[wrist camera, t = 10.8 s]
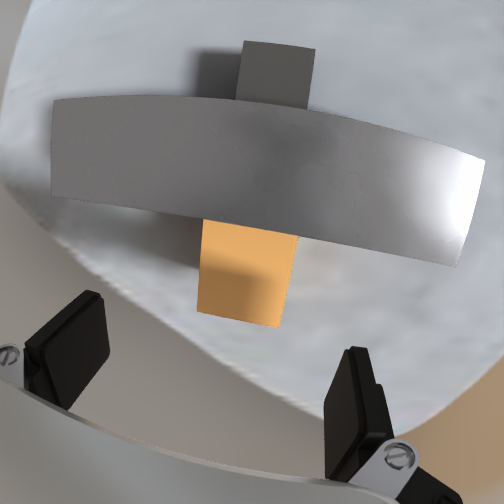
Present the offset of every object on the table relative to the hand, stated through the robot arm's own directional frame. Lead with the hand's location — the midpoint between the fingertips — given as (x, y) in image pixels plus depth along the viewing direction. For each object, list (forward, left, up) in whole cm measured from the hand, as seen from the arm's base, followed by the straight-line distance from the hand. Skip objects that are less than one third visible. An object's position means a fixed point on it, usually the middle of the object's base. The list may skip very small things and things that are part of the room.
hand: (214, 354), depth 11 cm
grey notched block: (-7, 0, -8) cm, 10 cm away
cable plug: (-5, 0, -8) cm, 9 cm away
